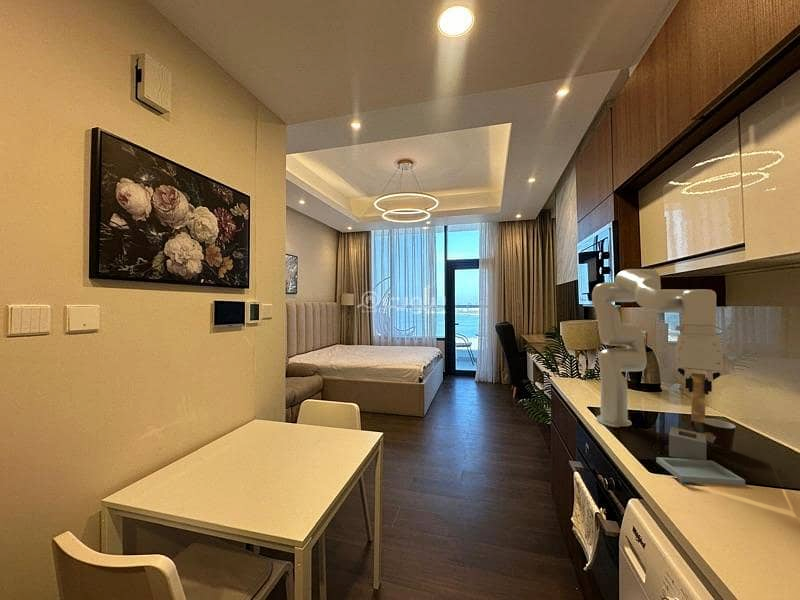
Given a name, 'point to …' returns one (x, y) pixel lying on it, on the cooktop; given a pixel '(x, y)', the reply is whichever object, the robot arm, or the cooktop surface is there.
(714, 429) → the coffee mug
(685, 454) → the grey notched box
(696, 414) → the brown upright block
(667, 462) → the slate tray
